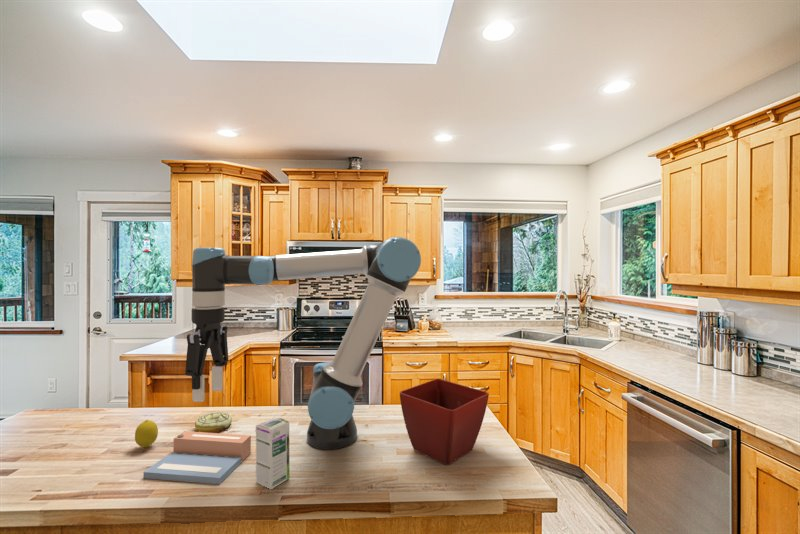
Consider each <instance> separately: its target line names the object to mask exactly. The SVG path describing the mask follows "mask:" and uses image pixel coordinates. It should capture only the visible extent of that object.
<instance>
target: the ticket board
mask: <svg viewBox="0 0 800 534" xmlns="http://www.w3.org/2000/svg"><path fill="white" fill-rule="evenodd" d="M241 463H242V461H241V457H237V456H223V455H209V454H194V453H180V452H173V451H172V452H170V453H168V454H167V455H166V456H164V457H162V458H161V459H160V460H158V461H157V462H156V463H154V464H152V465H151V466H150V467H149V468H147V469H146V470H145V471H143V479H150V480H151V479H152V480H164V481H173V482H174V481H176V482H177V481H178V482H187V483H189V482H190V483H200V484H201V483H202V484H212V485H220V484H221V483H223V482H224V480H226V479H227V477H229V476H230V474H232V472H233V471H234V470H236V469H237V468H238V467H239V465H241Z"/></svg>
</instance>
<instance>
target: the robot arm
mask: <svg viewBox="0 0 800 534" xmlns="http://www.w3.org/2000/svg"><path fill="white" fill-rule="evenodd" d="M421 264H422V256H421V253H420V250H419V247H418V246H417V245H416V244H415V243H414V242H413V241H411V240H410V239H408V238H406V237H401V236H394V237H393V236H392V237H390V238H387V239H386V240H384V241H382V242H380V243H374V244H370V245H363V246H362V247H361V248H359V249H344V250H343V249H342V250H331V251H329V250H328V251H319V252H318V251H316V252H305V253H302V252H301V253H291V254H277V255H265V256H263V255H228V254H226V251H225V248H223V247H222V248H221V247H196V248H194V250H193V251H192V262H191V277H192V279H191V280H192V281H191V282H192V284H191V285H192V287H191V288H192V289H191V291H192V294H191V295H192V296H191V297H192V298H191V299H192V300H191V301H192V303H191V305H192V307H193V308H192V310H191V322H192V324H195V325H196V327H195V330H194V333H192V334H191V333H190V334H187V335H186V341H187V350H186V359H185V371H184V374H185V376H189V377H191V389H192V391H191V392H192V395H191V397H192V400H191V401H192V402H196V403H203V402H205V387H206V386H205V385H206V384H205V379H206V378H205V374H203V372H204V368H205V367H204V366H205V363H206V359H207V354H208V350H209V351H210V353H211V358H212V362H213V365H212V366H211V391H212V392H222V391H224V390H223V387H224V386H223V385H224V384H223V383H224V377H223V376H224V366H227V365H228V361H229V348H228V347H229V346H228V326H227V325H221V323H223V322H224V321H225V320H226V319H225V315H226V314H225V313H226V311H225V308H224V307H223V306H225V304H226V298H225V297H226V290H225V289H226V288H225V286H226V285H253V286H254V285H256V286H262V285H269V284H271V283H272V282H274V281H275V282H276V281H277V282H278V281H288V280H301V279H311V278H322V277H323V278H325V277H336V276H337V277H338V276H351V275H359V274H360V275H361V274H362V275H364V276H365V277H366V279H367V281H368V284H367V286H366V288H365V291H364V293H363V295H362V297H361V299H360V301H359V303H358V305H357V307H356V310H355V312H354V314H353V316H352V319H351V321H350V323H349V325H348V327H347V329H346V331H345V333H344V335H343V338H342V339H341V342H340V345H339V347H338V348H337V351H336V352H335V355H334V357H333V359H332V361H325V362H320V363H316V364H315V365H314V366H313V371H312V375H313V377H312V379H313V380H312V388H311V391H310V394H309V395H310V396H309V398H308V401H307V409H308V410H307V413H308V416H309V418H310V422H309V424H308V428H307V430H306V431H307V432H306V442H307V444H309V446H310V447H313V448H315V449H320V450H337V449H341V448H345V447H347V446H350V445H351V444H354V443H355V442H356V440H357V438H358V428H357V425H356V422H355V419H354V416H353V414H354V409H355V402H356V399H357V397H358V395H359V393H360V390H361V388H362V386H363V380H362V377H361V376H362V374H363V371H364V369H365V366H366V364H367V363H368V360H369V358H370V355H371V353H372V352H373V349H374V347H375V345H376V343H377V341H378V338H379V336H380V334H381V332H382V329H383V328H384V325H385V323H386V321H387V319H388V316H389V315H390V312H391V310H392V307H393V306H394V304H395V301H396V299H397V297H398V296H400V295H403V294H405V292H406V290H407V289H408V286H409V284H410V283H411V279H413V278H414V277H415V276H416V275H417V273H418V271H420V267H421Z"/></svg>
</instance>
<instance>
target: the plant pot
mask: <svg viewBox="0 0 800 534" xmlns="http://www.w3.org/2000/svg"><path fill="white" fill-rule="evenodd" d="M489 395H490V394H489V392H486V391H484V390H480V389H476V388H474V387H470V386H468V385H462V384H460V383H459V384H458V383H456V382H452V381H448V380H445V379H441V378H435V379H432V380H430V381H429V380H428V381H425V382H424V383H421V384H419V385H418V384H417V385H415V386H413V387H409V388H407V389H403V390H401V391H399V400H400V405H401V412H402V416H403V420H404V424H405V428H406V431H407V435H408V438H409V440H410V443H411V446H412V449H413V450H414V451H416V452H417V453H420V454H422V455H424V456H427V457H428V458H430V459H432V460H435V461H437V462H439V463H441V464H443V465H446V466H447V465H448V466H449V465H451V464H452V463H454V462H456V461H458V460H459V459H461V458H462V457H464V456H465V455H467V454H468V453H470V452H472V450H473V449H474V447H475V444H476V442H477V439H478V437H479V434H480V431H481V429H482V425H483V421H484V418H485V414H486V410H487V407H488V402H489V401H488V400H489Z"/></svg>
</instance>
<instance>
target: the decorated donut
mask: <svg viewBox="0 0 800 534" xmlns="http://www.w3.org/2000/svg"><path fill="white" fill-rule="evenodd" d="M232 420H233V417H232V415H231V414H230V413H228V412H220V411H219V412H211V413H206V414H204V415H201V416H199V417H198V418H196V420H195V422H194V428H195V429H196V432H206V433H219V432H221V431H224V430H225V429H228V428H229V427H230V426H231V424H232Z"/></svg>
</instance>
